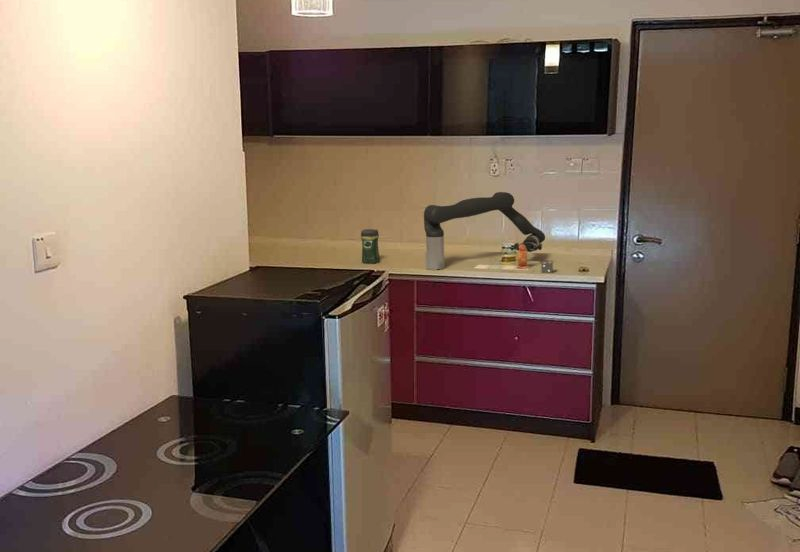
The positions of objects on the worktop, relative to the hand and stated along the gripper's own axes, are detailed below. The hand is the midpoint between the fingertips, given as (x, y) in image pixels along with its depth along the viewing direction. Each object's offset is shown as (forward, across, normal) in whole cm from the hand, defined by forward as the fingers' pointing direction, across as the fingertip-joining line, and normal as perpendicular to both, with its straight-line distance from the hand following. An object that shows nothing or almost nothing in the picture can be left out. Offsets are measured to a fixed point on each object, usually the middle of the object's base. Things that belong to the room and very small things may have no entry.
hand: (526, 248), depth 397 cm
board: (+10, -11, +10) cm, 17 cm away
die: (+10, +12, +10) cm, 19 cm away
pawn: (+9, 0, +8) cm, 12 cm away
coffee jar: (+2, -86, +10) cm, 86 cm away
